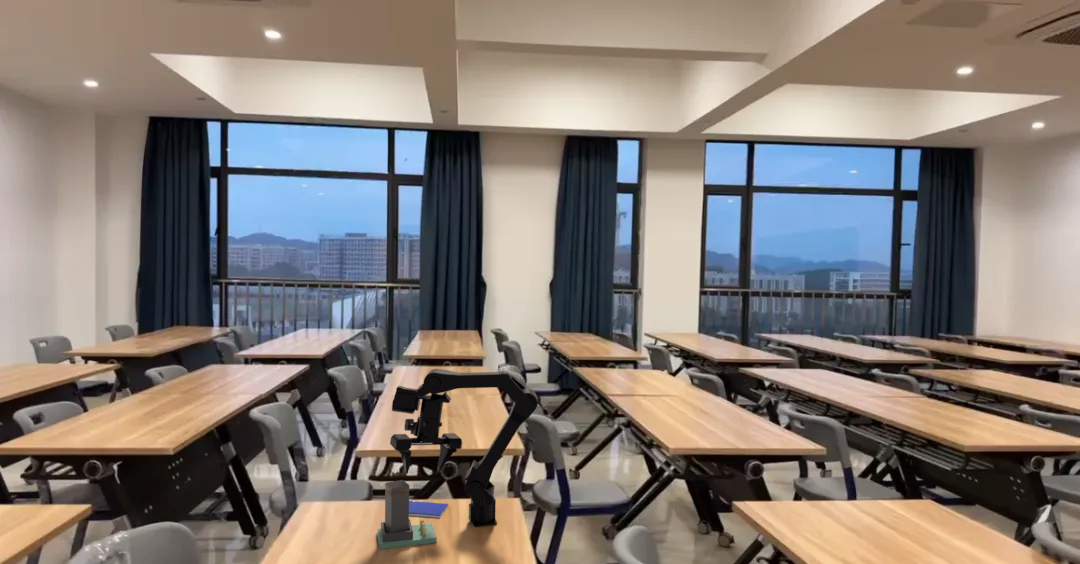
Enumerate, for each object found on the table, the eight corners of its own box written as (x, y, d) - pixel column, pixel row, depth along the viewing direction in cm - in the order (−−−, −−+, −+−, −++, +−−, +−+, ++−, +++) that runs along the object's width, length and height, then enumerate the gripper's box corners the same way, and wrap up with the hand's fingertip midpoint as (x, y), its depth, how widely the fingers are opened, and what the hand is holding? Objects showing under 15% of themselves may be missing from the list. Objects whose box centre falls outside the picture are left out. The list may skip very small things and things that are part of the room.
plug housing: (402, 529, 165) (402, 479, 165) (408, 535, 161) (409, 485, 161) (384, 533, 163) (385, 482, 162) (391, 540, 159) (391, 488, 158)
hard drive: (397, 510, 177) (440, 514, 175) (407, 499, 185) (448, 502, 184) (397, 516, 177) (440, 520, 176) (407, 505, 185) (448, 508, 184)
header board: (431, 527, 169) (431, 515, 169) (436, 542, 161) (436, 529, 160) (377, 533, 165) (377, 521, 165) (379, 549, 156) (379, 536, 156)
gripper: (451, 408, 184) (443, 461, 184) (388, 407, 174) (380, 463, 175) (466, 419, 174) (458, 475, 175) (400, 419, 165) (392, 478, 165)
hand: (422, 472), depth 173 cm, fingers open, 9 cm apart
